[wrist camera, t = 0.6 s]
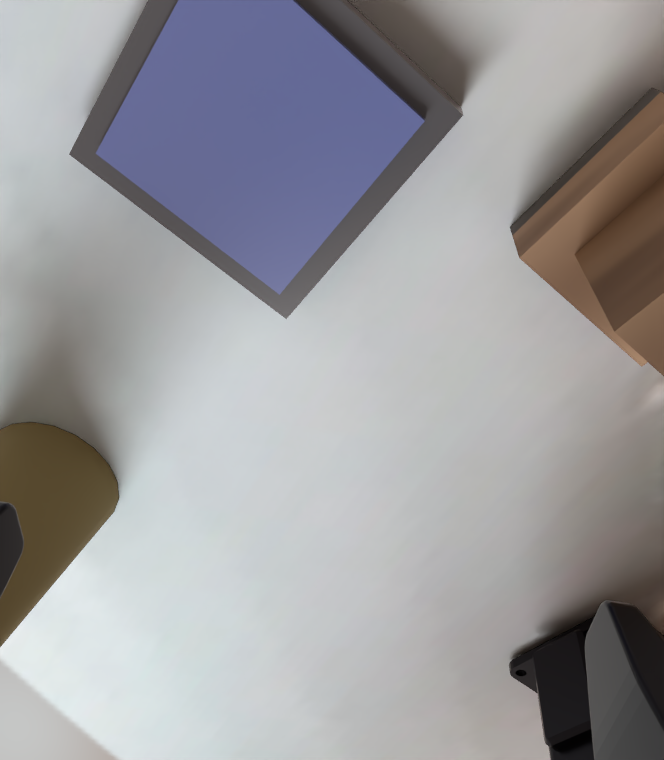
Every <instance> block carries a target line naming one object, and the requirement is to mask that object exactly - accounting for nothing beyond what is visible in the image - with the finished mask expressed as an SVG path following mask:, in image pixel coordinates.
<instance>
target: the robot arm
mask: <svg viewBox="0 0 664 760" xmlns="http://www.w3.org/2000/svg"><path fill="white" fill-rule="evenodd" d="M23 547H24V538H23V534H22V530H21V526H20V522H19V519H18V515H17V511H16V508H15V507H14V506H13V505H12V504H11V503H8V502H2V501H0V598H1V596H2V594H3V592H4V590H5V588H6V586H7V584H8V582H9V579H10V577H11V575H12V573H13V571H14V569H15V567H16V565H17V563H18V561H19V559H20V557H21V555H22V552H23ZM509 668H510V674H511V676H512V677H514V678H515V679H517V680H518V681H520V682H521V683H523V684H524V685H526V686H527V687H529V688H530V689H532V690H533V691H535V692H536V693H538V699H539V706H540V713H541V720H542V726H543V733H544V740H545V743H546V745H548V746H549V752H550V758H551V760H664V636H663V635H662V634H660V633H659V632H658V631H656V630H655V629H654V627H653V626H652V625H651V624H650V623H649V621H648V620H647V619H646V618H645V617H644V615H643V614H642V613H641V612H640V611H639V610H638V609H637V608H636V607H635V606H634V605H632V604H629V603H623V602H617V601H611V600H605V601H604V602H602V603H601V605H600V606H599V609H598V611H597V613H596V615H595V617H593V618H591V619H589V620H587V621H585V622H584V623H582V624H580V625H578V626H576V627H574V628H572V629H570V630H569V631H567V632H565V633H563V634H561V635H559V636H557V637H555V638H553V639H552V640H550V641H548V642H546V643H544V644H542V645H540V646H538V647H537V648H535V649H533V650H531V651H529V652H527V653H525V654H523V655H521V656H520V657H518V658H516V659H514V660H512V661H511V662H510V664H509Z"/></svg>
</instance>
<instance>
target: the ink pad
mask: <svg viewBox="0 0 664 760" xmlns="http://www.w3.org/2000/svg"><path fill="white" fill-rule="evenodd" d="M462 116H463V113H462V108H461V107H460V106H459V105H458V104H457V103H456V102H455V101H454V100H453V99H452V98H451V97H450V96H449V95H448V94H447V93H445V92H444V91H443V90H442V89H441V88H440V87H439V86H438V85H437V84H436V83H435V82H434V81H433V80H432V79H431V78H430V77H428V76H427V75H426V74H425V73H424V72H423V71H422V70H421V69H420V68H419V67H418V66H417V65H416V64H415V63H414V62H412V61H411V60H410V59H409V58H408V57H407V56H406V55H405V54H404V53H403V52H402V51H401V50H400V49H399V48H398V47H397V46H395V45H394V44H393V43H392V42H391V41H390V40H389V39H388V38H387V37H386V36H385V35H384V34H383V33H382V32H381V31H380V30H378V29H377V28H376V27H375V26H374V25H373V24H372V23H371V22H370V21H369V20H368V19H367V18H366V17H365V16H364V15H363V14H361V13H360V12H359V11H358V10H357V9H356V8H355V7H354V6H353V5H352V4H351V3H350V2H349V1H348V0H148V2H147V4H146V6H145V8H144V10H143V12H142V14H141V16H140V18H139V20H138V22H137V23H136V25H135V27H134V29H133V31H132V33H131V35H130V37H129V39H128V41H127V43H126V45H125V47H124V49H123V51H122V53H121V55H120V56H119V58H118V60H117V62H116V64H115V66H114V68H113V70H112V72H111V74H110V76H109V78H108V80H107V82H106V84H105V86H104V88H103V89H102V91H101V93H100V95H99V97H98V99H97V101H96V103H95V105H94V107H93V109H92V111H91V113H90V115H89V117H88V119H87V121H86V122H85V124H84V126H83V128H82V130H81V132H80V134H79V136H78V138H77V140H76V142H75V144H74V146H73V148H72V150H71V152H70V154H69V155H71V156H72V157H73V158H75V159H76V160H77V161H79V162H80V163H81V164H83V165H84V166H85V167H87V168H88V169H89V170H91V171H92V172H93V173H95V174H96V175H97V176H98V177H100V178H101V179H102V180H104V181H105V182H106V183H108V184H109V185H110V186H112V187H113V188H114V189H116V190H117V191H118V192H120V193H121V194H122V195H124V196H125V197H126V198H128V199H129V200H130V201H131V202H133V203H134V204H135V205H137V206H138V207H139V208H141V209H142V210H143V211H145V212H146V213H147V214H149V215H150V216H151V217H153V218H154V219H155V220H157V221H158V222H159V223H160V224H162V225H163V226H164V227H166V228H167V229H168V230H170V231H171V232H172V233H174V234H175V235H176V236H178V237H179V238H180V239H182V240H183V241H184V242H186V243H187V244H188V245H189V246H191V247H192V248H193V249H195V250H196V251H197V252H199V253H200V254H201V255H203V256H204V257H205V258H207V259H208V260H209V261H211V262H212V263H213V264H215V265H216V266H217V267H218V268H220V269H221V270H222V271H224V272H225V273H226V274H228V275H229V276H230V277H232V278H233V279H234V280H236V281H237V282H238V283H240V284H241V285H242V286H244V287H245V288H246V289H247V290H249V291H250V292H251V293H253V294H254V295H255V296H257V297H258V298H259V299H261V300H262V301H263V302H265V303H266V304H267V305H269V306H270V307H271V308H273V309H274V310H275V311H276V312H278V313H279V314H280V315H282V316H283V317H284V318H286V319H287V317H288V316H289V315H290V314H291V313H292V312H293V311H294V309H295V308H296V307H297V306H298V305H299V304H300V302H301V301H302V300H303V299H304V298H305V297H306V296H307V294H308V293H309V292H310V291H311V290H312V289H313V288H314V286H315V285H316V284H317V283H318V282H319V281H320V279H321V278H322V277H323V276H324V275H325V274H326V273H327V271H328V270H329V269H330V268H331V267H332V266H333V264H334V263H335V262H336V261H337V260H338V259H339V258H340V256H341V255H342V254H343V253H344V252H345V251H346V249H347V248H348V247H349V246H350V245H351V244H352V243H353V241H354V240H355V239H356V238H357V237H358V236H359V234H360V233H361V232H362V231H363V230H364V229H365V228H366V226H367V225H368V224H369V223H370V222H371V221H372V220H373V218H374V217H375V216H376V215H377V214H378V213H379V211H380V210H381V209H382V208H383V207H384V206H385V205H386V203H387V202H388V201H389V200H390V199H391V198H392V196H393V195H394V194H395V193H396V192H397V191H398V190H399V188H400V187H401V186H402V185H403V184H404V183H405V181H406V180H407V179H408V178H409V177H410V176H411V175H412V173H413V172H414V171H415V170H416V169H417V168H418V167H419V165H420V164H421V163H422V162H423V161H424V160H425V158H426V157H427V156H428V155H429V154H430V153H431V152H432V150H433V149H434V148H435V147H436V146H437V145H438V143H439V142H440V141H441V140H442V139H443V138H444V137H445V135H446V134H447V133H448V132H449V131H450V130H451V128H452V127H453V126H454V125H455V124H456V123H457V122H458V120H459V119H460V118H461V117H462Z"/></svg>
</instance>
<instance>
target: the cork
mask: <svg viewBox="0 0 664 760" xmlns="http://www.w3.org/2000/svg"><path fill="white" fill-rule="evenodd" d="M118 499H119V494H118V484H117V480H116V478H115V476H114V474H113V472H112V470H111V468H110V466H109V464H108V463H107V462H106V461H105V460H104V459H103V458H102V457H101V455H100V454H99V453H98V452H97V451H96V450H95V449H94V448H93V447H91V446H90V445H89V444H87V443H86V442H84V441H83V440H82V439H80V438H79V437H77V436H76V435H74V434H71V433H69V432H67V431H64V430H62V429H60V428H57V427H55V426H51V425H45V424H40V423H34V422H28V423H17V424H11V425H9V426H7V427H5V428H3V429H1V430H0V501H2V502H8V503H11V504H12V505H13V506H14V507H15V508H16V511H17V515H18V519H19V522H20V526H21V530H22V534H23V538H24V547H23V552H22V555H21V557H20V559H19V561H18V563H17V565H16V567H15V569H14V571H13V573H12V575H11V577H10V579H9V582H8V584H7V586H6V588H5V590H4V592H3V594H2V596H1V598H0V647H1V646H2V644H3V643H4V642H5V641H6V640H7V638H8V637H9V636H10V635H11V634H12V633H13V631H14V630H15V629H16V628H17V627H18V625H19V624H20V623H21V622H22V621H23V619H24V618H25V617H26V616H27V615H28V613H29V612H30V611H31V610H32V609H33V608H34V606H35V605H36V604H37V603H38V602H39V600H40V599H41V598H42V597H43V596H44V594H45V593H46V592H47V591H48V590H49V589H50V587H51V586H52V585H53V584H54V583H55V581H56V580H57V579H58V578H59V577H60V575H61V574H62V573H63V572H64V571H65V569H66V568H67V567H68V566H69V565H70V564H71V562H72V561H73V560H74V559H75V558H76V556H77V555H78V554H79V553H80V552H81V550H82V549H83V548H84V547H85V546H86V544H87V543H88V542H89V541H90V540H91V539H92V537H93V536H94V535H95V534H96V533H97V531H98V530H99V529H100V528H101V527H102V525H103V524H104V523H105V522H106V521H107V519H108V518H109V517H110V516H111V515H112V514H113V512H114V510H115V508H116V505H117V502H118Z"/></svg>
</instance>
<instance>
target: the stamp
mask: <svg viewBox="0 0 664 760" xmlns="http://www.w3.org/2000/svg"><path fill="white" fill-rule="evenodd" d="M510 229H511V232H512V235H513V239H514V242H515V245H516V248H517V252H518V255H519V258H520V259H521V260H522V261H523V262H525V263H526V264H527V265H528V266H529V267H530V268H531V269H532V270H534V271H535V272H536V273H537V274H538V275H539V276H540V277H541V278H543V279H544V280H545V281H546V282H547V283H548V284H549V285H550V286H552V287H553V288H554V289H555V290H556V291H557V292H558V293H559V294H561V295H562V296H563V297H564V298H565V299H566V300H567V301H568V302H570V303H571V304H572V305H573V306H574V307H575V308H576V309H577V310H579V311H580V312H581V313H582V314H583V315H584V316H585V317H586V318H588V319H589V320H590V321H591V322H592V323H593V324H594V325H595V326H597V327H598V328H599V329H600V330H601V331H602V332H603V333H604V334H606V335H607V336H608V337H609V338H610V339H611V340H612V341H613V342H615V343H616V344H617V345H618V346H619V347H620V348H621V349H622V350H624V351H625V352H626V353H627V354H628V355H629V356H630V357H631V358H633V359H634V360H635V361H636V362H637V363H638V364H639V365H640V366H643V365H644V364H646V363H647V362H649V363H650V364H651V365H652V366H653V367H654V368H655V369H656V370H657V371H659V372H660V373H661V374H662V375H663V376H664V93H662V92H660V91H658V90H656V89H654V88H651V89H650V90H649V91H648V92H647V93H646V94H645V95H644V96H643V97H642V98H641V99H640V100H639V101H638V102H637V103H636V104H635V105H634V106H633V107H632V108H631V109H630V110H629V111H628V112H627V113H626V114H625V115H624V116H623V117H622V118H621V119H620V120H619V121H618V122H617V123H616V124H615V125H614V126H613V127H612V128H611V129H610V130H609V131H608V132H607V133H606V134H605V135H604V136H603V137H602V138H600V139H599V140H598V141H597V142H596V143H595V144H594V145H593V146H592V147H591V148H590V149H589V150H588V151H587V152H586V153H585V154H584V155H583V156H582V157H581V158H580V159H579V160H578V161H577V162H576V163H575V164H574V165H573V166H572V167H571V168H570V169H569V170H568V171H567V172H566V173H565V174H564V175H563V176H562V177H561V178H560V179H559V180H558V181H557V182H556V183H555V184H554V185H553V186H552V187H550V188H549V189H548V190H547V191H546V192H545V193H544V194H543V195H542V196H541V197H540V198H539V199H538V200H537V201H536V202H535V203H534V204H533V205H532V206H531V207H530V208H529V209H528V210H527V211H526V212H525V213H524V214H523V215H522V216H521V217H520V218H519V219H518V220H517V221H516V222H515V223H514V224H513V225H512V226H511V227H510Z"/></svg>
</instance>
